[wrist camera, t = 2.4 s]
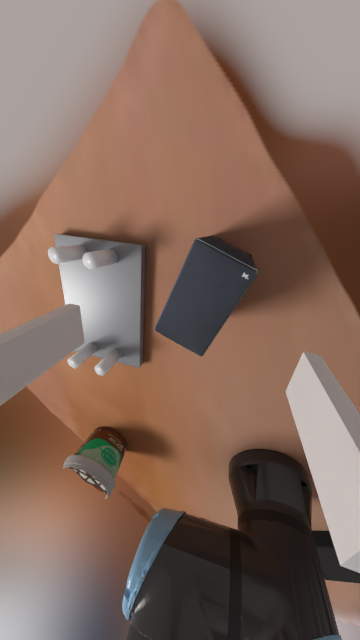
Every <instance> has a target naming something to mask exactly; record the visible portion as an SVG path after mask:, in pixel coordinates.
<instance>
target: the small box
mask: <svg viewBox="0 0 360 640" xmlns="http://www.w3.org/2000/svg"><path fill="white" fill-rule="evenodd" d="M257 274H258V269H257V268H256V267H255V265H254V262H253V260H252V256H251V255H249V254H248V253H244V252H243V251H242V250H240V249H237V248H235V247H233V246H231V245H230V244H228V243H226V242H224V241H223V240H221V239H219V238H216V237H214V236H208V237H202V238H196V239H195V240H194V243H193V245H192V247H191V249H190V251H189V254H188V256H187V258H186V260H185V262H184V265H183V267H182V269H181V271H180V273H179V276H178V278H177V280H176V282H175V285H174V287H173V289H172V291H171V293H170V295H169V298H168V300H167V302H166V304H165V306H164V308H163V311H162V313H161V315H160V317H159V319H158V321H157V324H156V326H155V328H154V330H155V331H157V332H159V333H160V334H162V335H164V336H165V337H167V338H169V339H171V340H173V341H174V342H176V343H178V344H180V345H181V346H183V347H185V348H187V349H189V350H190V351H192V352H194V353H196V354H198V355H199V356H203V354H204V353H205V352H206V350H207V349H208V347H209V346H210V344H211V343H212V341H213V340H214V338H215V337H216V335H217V334H218V332H219V331H220V329H221V328H222V326H223V325H224V323H225V322H226V320H227V319H228V317H229V316H230V314H231V313H232V311H233V310H234V308H235V307H236V305H237V304H238V302H239V301H240V299H241V298H242V297H243V295H244V294H245V292H246V291H247V289H248V287H249V286H250V284H251V283H252V281H253V280H254V278H255V277H256V276H257Z"/></svg>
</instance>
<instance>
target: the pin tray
mask: <svg viewBox="0 0 360 640" xmlns="http://www.w3.org/2000/svg"><path fill="white" fill-rule="evenodd" d="M54 237H55V243H56V247H51V248H49V250H48V256H49V258H50V260H51V261H52V262H53V263H56V264H58V263H59V268H60V274H61V280H62V286H63V292H64V299H65V305H67V304H74V305H79V306H80V311H81V319H82V326H83V333H84V341H85V343H83V344H82V345H81V346H79V347H78V348H77V349H75V350H74V351H76V352H77V353H75V354H74V355H73V356H71V357H70V358H69V359H68V364H69V365H70V366H71V367H72V368H77V367H79V366H80V365H81V364H82V363H83V362H84V361H85V360H87V359H88V358H89V357H90V356H95V357H99V358H103V359H102V360H101V361H100V362H99V363H98V364H97V365H96V366H95V372H96V373H97V374H99V375H101V376H103V375H105V374H106V373H107V372H108V371H109V370H110V368H111V367H112V366H113V365H114V364H115V363H116V362H118V363H122V364H126V365H130V366H134V367H138V368H140V367H141V365H142V364H143V341H144V298H145V255H146V245H142V244H134V243H127V242H119V241H112V240H105V239H97V238H90V237H82V236H75V235H67V234H54Z"/></svg>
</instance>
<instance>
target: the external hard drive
mask: <svg viewBox="0 0 360 640" xmlns="http://www.w3.org/2000/svg"><path fill="white" fill-rule="evenodd" d="M312 533H313V538H314V541H315V545H316V549H317V553H318V556H319V560H320V564H321V568H322V572H323V575H324V578H325V579H326V580H333V581H343V582H353V583H360V573H358V572H356V571H353V570H350V569H348V568H345V567H342V566H340V563H339V560H338V557H337V554H336V551H335V548H334V544H333V541H332V538H331V535H330V532H329V531H312Z"/></svg>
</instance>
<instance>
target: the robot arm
mask: <svg viewBox="0 0 360 640" xmlns="http://www.w3.org/2000/svg"><path fill="white" fill-rule="evenodd" d="M83 343H85V341H84V333H83V326H82V319H81V311H80V306H79V305H74V304H67V305H65V306H63V307H60V308H58V309H56V310H54V311H51V312H49V313H47V314H45V315H42V316H40V317H38V318H36V319H33V320H31V321H29V322H26V323H24V324H22V325H20V326H17V327H15V328H13V329H11V330H8V331H6V332H4V333H2V334H0V405H2V404H3V403H4V402H6V401H7V400H8V399H10V398H11V397H12V396H14V395H15V394H16V393H18V392H19V391H20V390H22V389H23V388H25V387H26V386H27V385H29V384H30V383H31V382H33V381H34V380H35V379H37V378H38V377H39V376H41V375H42V374H43V373H45V372H46V371H47V370H49V369H50V368H51V367H53V366H54V365H55V364H57V363H58V362H59V361H61V360H62V359H63V358H65V357H66V356H67V355H69V354H70V353H71V352H73V351H74V350H75V349H77V348H78V347H79V346H81V345H82V344H83ZM286 395H287V398H288V401H289V404H290V407H291V411H292V414H293V417H294V420H295V423H296V426H297V430H298V433H299V436H300V439H301V442H302V446H303V449H304V452H305V455H306V458H307V461H308V465H309V468H310V471H311V474H312V477H313V481H314V484H315V487H316V490H317V493H318V497H319V500H320V503H321V506H322V509H323V512H324V516H325V519H326V522H327V525H328V528H329V532H330V535H331V538H332V541H333V544H334V548H335V551H336V554H337V557H338V560H339V563H340V566H342V567H345V568H348V569H350V570H353V571H356V572H358V573H360V414H359V412H358V411H357V409H356V408H355V406H354V405H353V404H352V402H351V401H350V399H349V398H348V396H347V395H346V393H345V392H344V390H343V389H342V387H341V386H340V384H339V383H338V381H337V380H336V378H335V377H334V376H333V374H332V373H331V371H330V370H329V368H328V367H327V365H326V364H325V362H324V361H323V359H322V358H321V356H320V355H316V354H311V353H307V352H303V354H302V356H301V358H300V360H299V363H298V365H297V367H296V369H295V372H294V374H293V376H292V378H291V380H290V383H289V385H288V387H287V389H286ZM229 482H230V486H231V490H232V494H233V498H234V502H235V506H236V510H237V514H238V530H236V529H233V528H230V527H227V526H224V525H220V524H217V523H214V522H211V521H207V520H204V519H201V518H198V517H195V516H192V515H189V514H186V512H185V511H181V512H180V511H176V510H172V509H168V508H163V509H161V510H159V511H158V512H157V513H156V514H155V515H154V516H153V518H152V519H151V521H150V523H149V525H148V527H147V529H146V531H145V533H144V535H143V537H142V540H141V542H140V545H139V547H138V550H137V553H136V555H135V558H134V561H133V564H132V567H131V570H130V573H129V577H128V580H127V587H126V591H125V594H124V598H123V606H122V607H123V614H124V615H125V616H126V619H127V620H131V622H130V627H129V631H128V635H127V639H126V640H342V639H341V636H340V635H339V633H338V629H337V625H336V621H335V617H334V613H333V610H332V606H331V602H330V598H329V594H328V591H327V587H326V583H325V579H324V575H323V572H322V568H321V564H320V560H319V556H318V553H317V549H316V545H315V541H314V538H313V533H312V529H311V509H312V490H311V485H310V482H309V478H308V475H307V473H306V471H305V469H304V468H303V467H302V466H301V465H300V464H299V463H298V462H296V461H295V460H293V459H292V458H290V457H288V456H286V455H283V454H281V453H278V452H274V451H269V450H248V451H244V452H241V453H239V454H237V455H236V456H234V457H233V458H232V459H231V461H230V463H229Z"/></svg>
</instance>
